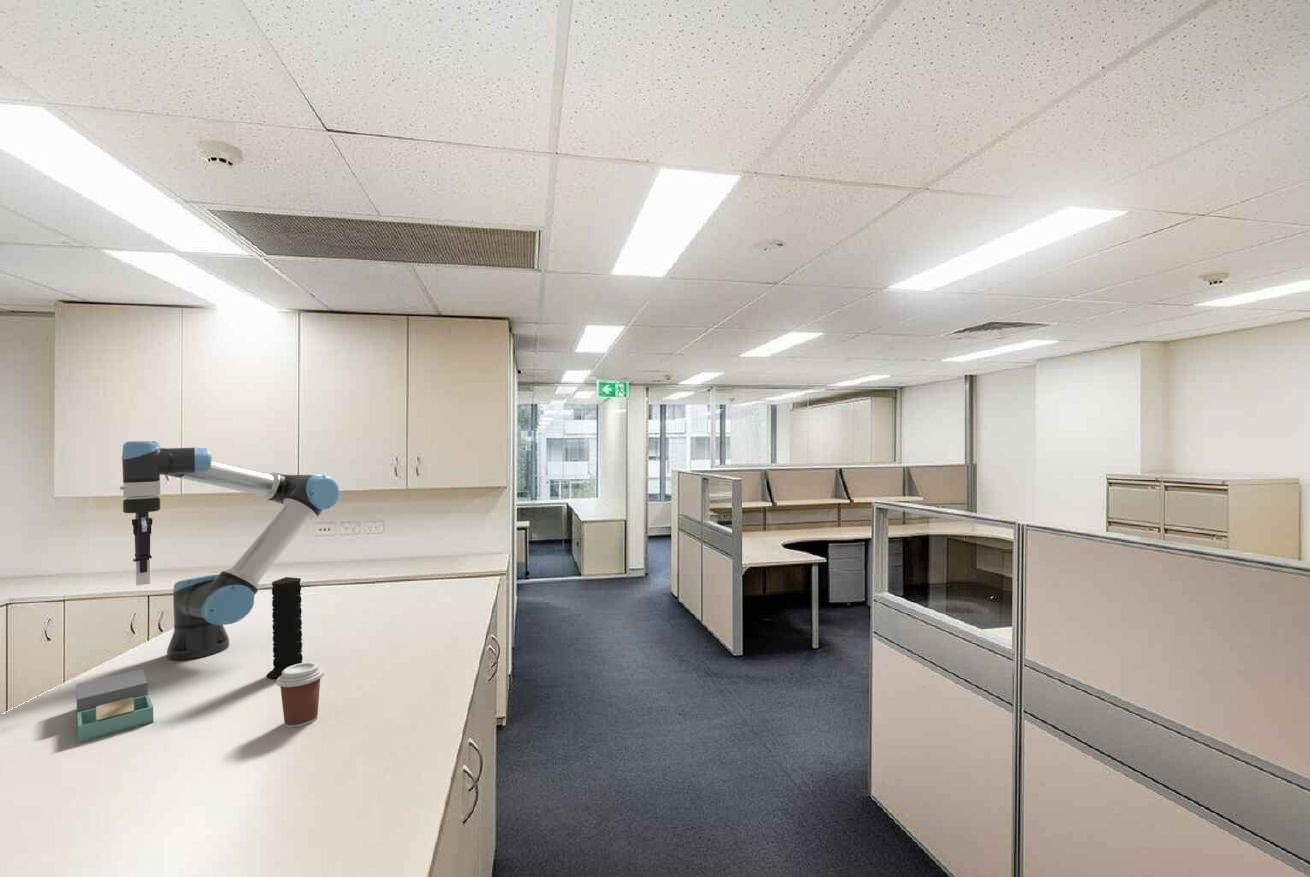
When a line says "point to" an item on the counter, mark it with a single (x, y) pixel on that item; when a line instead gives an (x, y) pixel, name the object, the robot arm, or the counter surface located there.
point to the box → (114, 720)
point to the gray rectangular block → (110, 690)
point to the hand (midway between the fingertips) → (143, 584)
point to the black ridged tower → (286, 625)
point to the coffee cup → (300, 693)
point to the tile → (114, 708)
